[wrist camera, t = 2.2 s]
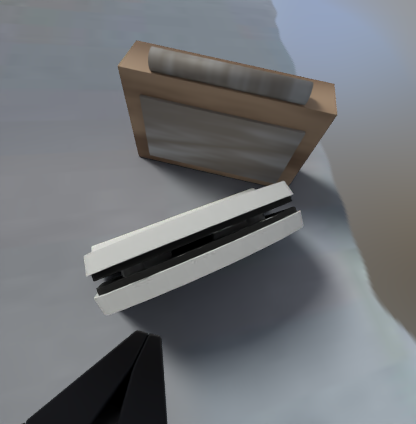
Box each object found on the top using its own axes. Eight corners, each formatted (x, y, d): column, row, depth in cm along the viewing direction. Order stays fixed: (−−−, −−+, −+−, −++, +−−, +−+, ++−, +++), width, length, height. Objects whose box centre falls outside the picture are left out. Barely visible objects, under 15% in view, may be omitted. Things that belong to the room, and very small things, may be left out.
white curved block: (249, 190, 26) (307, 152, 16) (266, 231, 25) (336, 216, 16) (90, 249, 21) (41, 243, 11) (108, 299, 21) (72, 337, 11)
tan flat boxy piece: (285, 192, 26) (349, 100, 16) (138, 158, 26) (111, 47, 16) (287, 163, 28) (344, 66, 18) (150, 132, 28) (133, 20, 19)
